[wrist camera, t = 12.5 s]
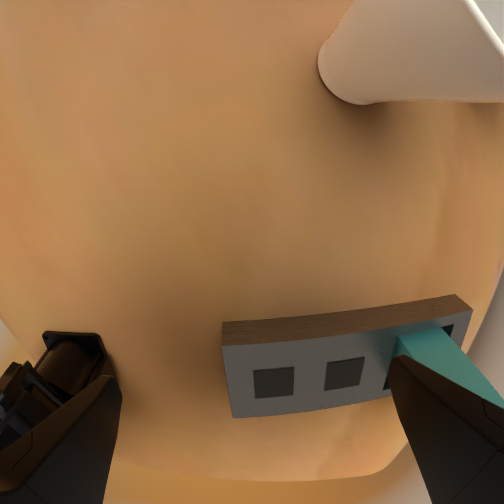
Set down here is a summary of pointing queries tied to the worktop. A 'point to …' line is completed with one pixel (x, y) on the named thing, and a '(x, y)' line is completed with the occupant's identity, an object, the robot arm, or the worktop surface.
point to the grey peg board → (325, 355)
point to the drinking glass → (416, 52)
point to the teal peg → (446, 361)
